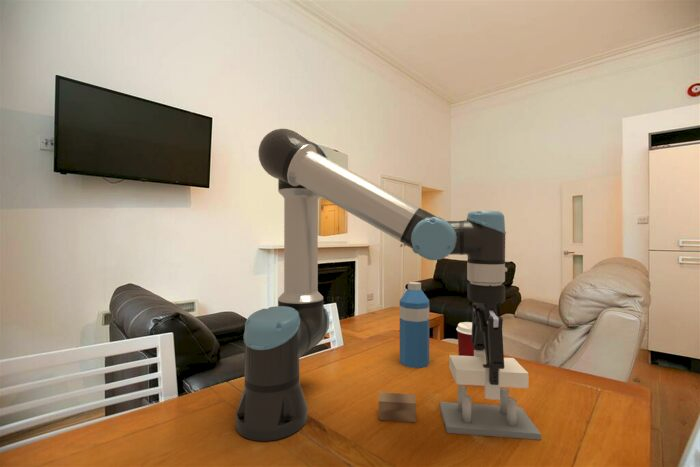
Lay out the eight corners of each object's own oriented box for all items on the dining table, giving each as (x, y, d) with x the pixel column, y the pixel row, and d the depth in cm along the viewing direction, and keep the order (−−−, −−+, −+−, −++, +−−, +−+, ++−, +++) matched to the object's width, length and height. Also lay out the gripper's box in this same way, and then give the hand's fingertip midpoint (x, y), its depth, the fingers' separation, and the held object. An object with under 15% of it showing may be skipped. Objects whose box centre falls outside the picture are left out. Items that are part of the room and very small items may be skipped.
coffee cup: (490, 387, 86) (490, 330, 86) (458, 384, 87) (458, 328, 87) (484, 373, 94) (484, 322, 94) (454, 371, 96) (454, 320, 96)
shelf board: (456, 384, 67) (456, 369, 67) (449, 368, 75) (449, 355, 75) (528, 388, 65) (528, 373, 65) (513, 371, 73) (513, 358, 73)
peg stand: (447, 432, 66) (447, 402, 66) (439, 406, 76) (439, 380, 76) (541, 439, 64) (541, 408, 64) (520, 412, 74) (521, 384, 74)
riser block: (378, 419, 71) (378, 401, 71) (379, 409, 75) (379, 392, 75) (415, 422, 70) (415, 403, 70) (414, 412, 74) (414, 394, 74)
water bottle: (432, 368, 98) (432, 285, 98) (401, 368, 98) (401, 285, 98) (426, 356, 107) (426, 280, 107) (397, 356, 107) (397, 280, 107)
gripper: (524, 291, 59) (524, 416, 59) (489, 276, 80) (489, 369, 80) (481, 290, 60) (481, 413, 60) (458, 276, 81) (458, 367, 81)
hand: (486, 388), depth 70 cm, fingers closed on shelf board, 8 cm apart
